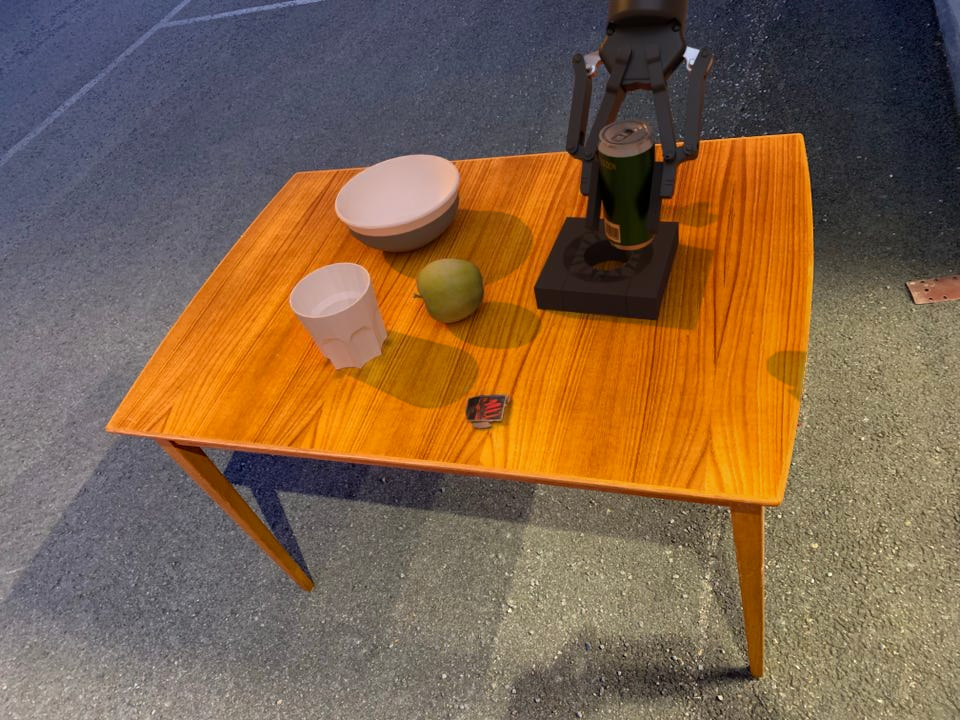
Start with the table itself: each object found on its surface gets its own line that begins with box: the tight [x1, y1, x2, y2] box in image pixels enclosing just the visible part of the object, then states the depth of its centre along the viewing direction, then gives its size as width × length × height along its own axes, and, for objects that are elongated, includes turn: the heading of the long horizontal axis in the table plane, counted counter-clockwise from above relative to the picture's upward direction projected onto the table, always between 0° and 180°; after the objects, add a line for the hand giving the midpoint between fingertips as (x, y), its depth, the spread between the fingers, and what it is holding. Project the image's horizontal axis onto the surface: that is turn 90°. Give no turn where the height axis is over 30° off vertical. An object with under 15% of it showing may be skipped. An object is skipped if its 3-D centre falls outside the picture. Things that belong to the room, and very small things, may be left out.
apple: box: [412, 258, 485, 324], centre depth 88 cm, size 8×9×8 cm
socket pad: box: [533, 216, 680, 321], centre depth 89 cm, size 15×15×4 cm
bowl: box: [334, 153, 461, 253], centre depth 103 cm, size 19×19×8 cm
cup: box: [288, 262, 389, 371], centre depth 87 cm, size 10×10×10 cm
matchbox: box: [465, 393, 511, 430], centre depth 78 cm, size 5×5×1 cm
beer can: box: [597, 118, 657, 250], centre depth 69 cm, size 5×5×12 cm
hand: (621, 230), depth 69 cm, fingers closed on beer can, 5 cm apart
